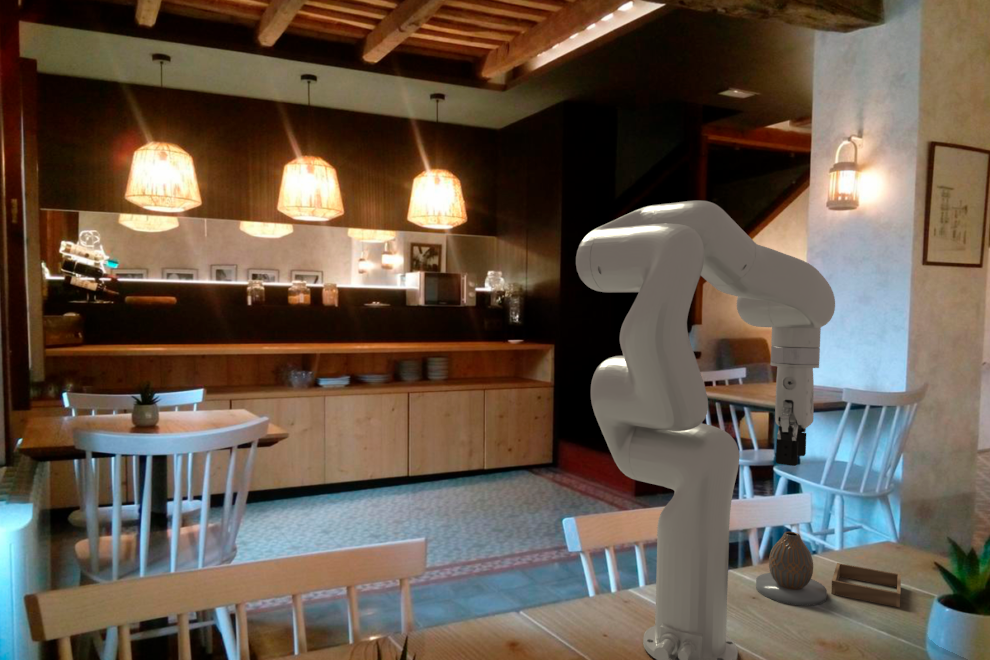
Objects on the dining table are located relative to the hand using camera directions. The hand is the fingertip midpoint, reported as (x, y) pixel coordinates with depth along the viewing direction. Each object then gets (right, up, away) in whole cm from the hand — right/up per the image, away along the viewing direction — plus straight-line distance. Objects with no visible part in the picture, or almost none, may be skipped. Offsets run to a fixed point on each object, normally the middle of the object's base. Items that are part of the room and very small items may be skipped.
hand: (791, 459), depth 118 cm
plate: (0, -23, +1) cm, 23 cm away
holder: (+14, -23, +2) cm, 27 cm away
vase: (0, -22, +1) cm, 22 cm away
